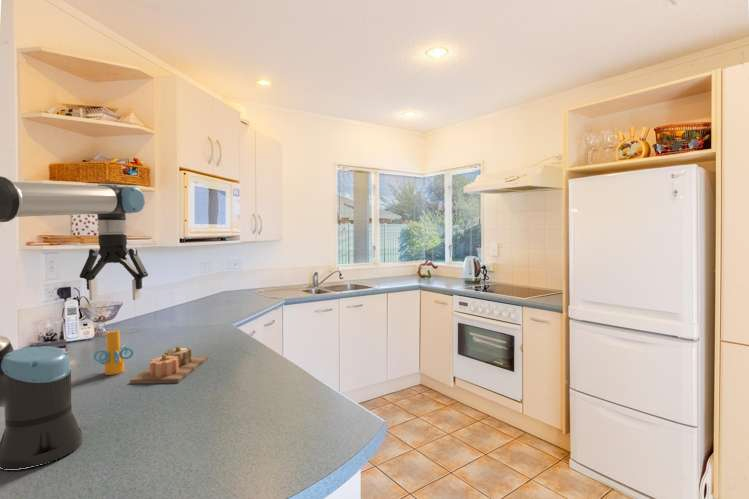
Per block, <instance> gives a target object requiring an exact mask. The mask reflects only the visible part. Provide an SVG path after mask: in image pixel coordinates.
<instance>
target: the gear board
mask: <svg viewBox="0 0 749 499" xmlns="http://www.w3.org/2000/svg"><path fill="white" fill-rule="evenodd" d="M161 356H162V361H166V360H167V356H173V357H175V356H178V357H179V371H178V372H177V373H172V375H168V376H166V375H164V376H161V377H156V376H155V375H154V376H151V375H150V367H148V368H147V369H145V370H144V371H142V372H140V373H139V374H137V375H135V376H134V377H133V378H131V379H129V383H130V384H176V383H177V384H179V383H181V381H182V380H184V379H185V378H186V377H187V376H189V375H190V374H192V373H193V372H194V371H195V370H196V369H198V368H199V367H200V366H202V364H204V363H205V362H206V361H208V356H192V348H190V347H181V346H178V345H177V346H175V348H174V349H173V348H171V349H168V350H167V351H165V352H164V354H162V355H161Z"/></svg>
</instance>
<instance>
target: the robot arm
mask: <svg viewBox="0 0 749 499" xmlns="http://www.w3.org/2000/svg"><path fill="white" fill-rule="evenodd" d="M145 199H146V198H145V195H144V193H143V191H142V190H141V189H139V188H138V187H137V186H128V185H127V186H123V185H118V184H107V183H106V184H105V183H104V184H102V183H101V184H98V185H89V184H88V185H86V184H84V185H83V184H66V183H46V182H43V183H42V182H22V181H12V180H11V179H10V178H7V177H5V176H0V223H8V222H11V221H13V220H14V219H15V218H18V217H19V218H21V217H46V216H48V217H49V216H73V215H74V216H75V215H78V216H79V215H97V232H98V233H99V235H98V245H99V249H98V248H90V249H89V250H88V257H87V258H86V261H85V263H84V265H83V267H82V269H81V271H80V274H79V278H80V279H84V280H85V281H86V289H87V291H89V292H88V295H89V301H92V302H93V301H95V300H98V299H99V294H98V279H96V276H97V275H98V274H99V273H100V272H101V271H102V269H104V267H105V265H106V264H110V263H111V264H120V265H122V266H123V268H125V270H126V271H127V272H128V273H129V274H130V275H131V276H132V277H133V279H132V280H131V283H132V287H131V288H132V289H131V290H132V300H133V301H138V300H140V299H141V290H142V288H143V279H144V278H146V277H148V276H149V273H148V271H147V270H146V268H145V265H144V264H143V262H142V261H141V259H140V257H139V255H138V249H137V248H129V249H128V248H127V244H128V242H127V241H128V240H127V239H128V238H127V235H126V234H125V233H127V218H126V216H127V214H134V213H135V214H136V213H139V212H142V210H143V209H144V208H145V204H146V201H145ZM127 255H128V256H129V258H130V259H131V262H132V263H131V262H130V259H129V258H128V257H127ZM98 256H100V258H99V259H98ZM96 260H97V262H96ZM71 368H72V365H71V363H70V355H69V353H68V352H67V350H65V349H63V348H61V347H57V346H50V345H49V346H46V345H41V346H29V347H28V346H27V347H23V348H18V349H14V348H13V345H12V343H11V341H10V338H8V337H6V336H3V335H0V407H1V408H4V424H5V425H4V426H5V427H4V430H3V433H2V436H1V438H0V439H1V440H0V467H1V468H3V469H19V468H26V467H31V466H36V465H40V464H45V463H48V462H51V461H54V460H56V459H58V458H61V457H63V456H65V455H67V454H69V453H70V454H72V453H73V452H75V451H76V450H77V449H78V448H79V447H80V446H81V445H82V443H83V431H82V429H81V427H80V426H79V424H78V422H77V419H76V418H75V415H74V413H73V409H72V375H71V372H72V370H71ZM75 449H76V450H75ZM74 450H75V451H74ZM72 451H73V452H72ZM71 452H72V453H71ZM70 454H69V455H70ZM67 456H68V455H67ZM65 457H66V456H65ZM63 458H64V457H63ZM61 459H62V458H61ZM56 461H57V460H56ZM54 462H55V461H54ZM51 463H52V462H51ZM48 464H49V463H48ZM45 465H46V464H45Z"/></svg>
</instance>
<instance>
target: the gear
mask: <svg viewBox="0 0 749 499" xmlns="http://www.w3.org/2000/svg"><path fill="white" fill-rule="evenodd" d="M149 368H150V375H151V376H154V375H155V376H156V377H161V376H164V375H166V376H168V375H172V373H177V372H178V371H179V357H178V356H175V357H173V356H167V360H166V361H162V355H161V356H158V357H157V358H152V359H150V361H149Z"/></svg>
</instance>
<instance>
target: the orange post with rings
mask: <svg viewBox="0 0 749 499" xmlns="http://www.w3.org/2000/svg"><path fill="white" fill-rule="evenodd" d="M105 334H106V350H104V349H100V350H96V351H95V352H94V354H93V359H94V361H96V362H98V364H100V365H104V366H103V369H104V375H106V376H113V375H118V374H121V373H123V372H124V371H125V360H129V359H131V358H132V357H133V356H134V350H133V349H132V348H131V347H128V346H127V345H125V344H123V345H121V333H120V329H112V330H107V331H105ZM129 351H130V354H129V355H128V356H127V354H128V353H129ZM98 354H99V356H98V358H97V355H98ZM103 356H104V358H102V357H103Z"/></svg>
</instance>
